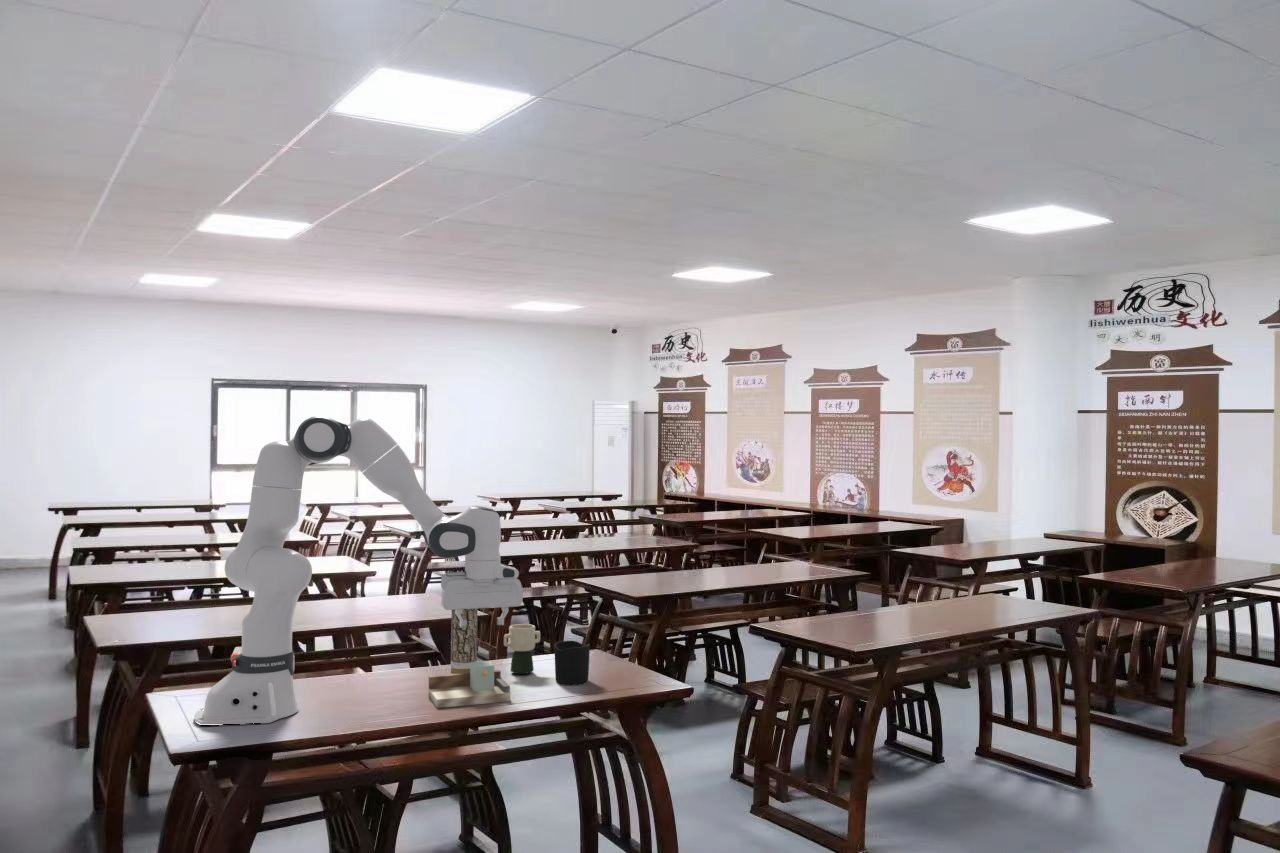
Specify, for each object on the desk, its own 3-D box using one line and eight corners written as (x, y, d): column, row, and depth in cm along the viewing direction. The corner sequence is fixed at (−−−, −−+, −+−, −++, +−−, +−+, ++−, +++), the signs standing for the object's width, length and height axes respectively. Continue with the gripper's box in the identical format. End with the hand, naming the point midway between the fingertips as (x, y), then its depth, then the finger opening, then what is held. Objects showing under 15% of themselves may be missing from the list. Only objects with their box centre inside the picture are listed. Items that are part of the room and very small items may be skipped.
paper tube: (464, 686, 252) (465, 590, 253) (445, 682, 256) (446, 588, 256) (481, 681, 258) (483, 587, 259) (462, 677, 262) (463, 585, 262)
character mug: (534, 668, 273) (534, 622, 273) (545, 673, 267) (545, 626, 267) (498, 673, 267) (498, 625, 267) (508, 678, 261) (508, 630, 261)
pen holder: (588, 677, 263) (588, 640, 263) (591, 685, 253) (591, 647, 254) (553, 678, 262) (553, 641, 262) (555, 686, 252) (555, 648, 252)
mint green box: (475, 692, 238) (475, 668, 238) (470, 686, 244) (470, 662, 244) (495, 690, 240) (495, 666, 240) (489, 684, 246) (489, 661, 246)
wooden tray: (436, 708, 231) (436, 687, 232) (428, 695, 243) (428, 675, 243) (510, 700, 238) (510, 680, 238) (499, 689, 249) (499, 669, 249)
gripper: (443, 573, 236) (442, 630, 236) (524, 570, 244) (524, 625, 244) (439, 570, 242) (438, 626, 242) (518, 567, 250) (517, 621, 249)
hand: (481, 625), depth 243 cm, fingers open, 8 cm apart
